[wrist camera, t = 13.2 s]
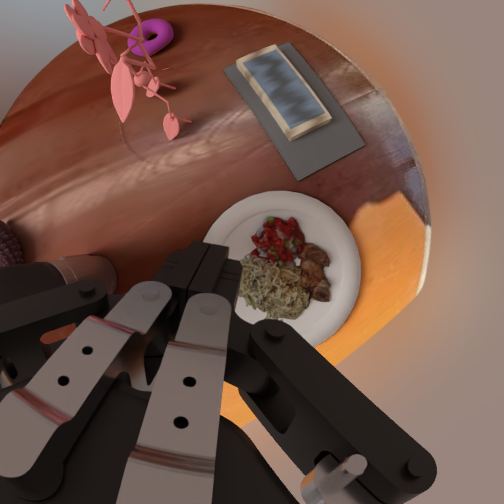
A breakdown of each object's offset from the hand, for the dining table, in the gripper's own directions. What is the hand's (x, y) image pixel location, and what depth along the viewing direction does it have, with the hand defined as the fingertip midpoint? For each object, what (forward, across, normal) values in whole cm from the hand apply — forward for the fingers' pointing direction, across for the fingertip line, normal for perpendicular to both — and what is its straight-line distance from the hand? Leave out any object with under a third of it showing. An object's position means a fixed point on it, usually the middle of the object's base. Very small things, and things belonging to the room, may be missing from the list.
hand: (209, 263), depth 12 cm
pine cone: (+32, +55, +26) cm, 69 cm away
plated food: (+36, -7, +20) cm, 42 cm away
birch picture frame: (+45, -8, -6) cm, 46 cm away
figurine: (+45, +23, -4) cm, 51 cm away
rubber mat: (+48, -4, -11) cm, 50 cm away
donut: (+53, +30, -23) cm, 65 cm away
